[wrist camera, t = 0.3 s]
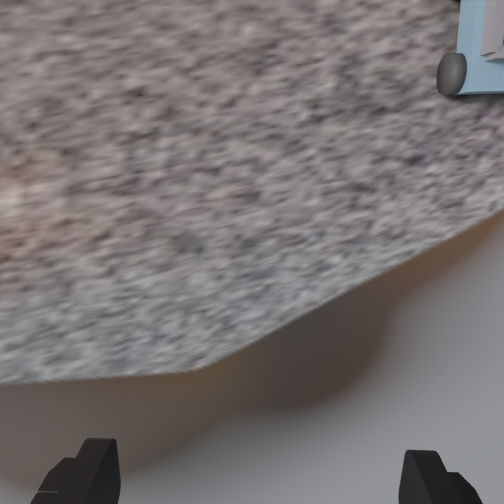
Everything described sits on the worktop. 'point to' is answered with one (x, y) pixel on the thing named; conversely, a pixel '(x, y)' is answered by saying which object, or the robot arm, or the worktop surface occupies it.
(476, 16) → the trolley
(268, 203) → the worktop surface
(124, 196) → the worktop surface
